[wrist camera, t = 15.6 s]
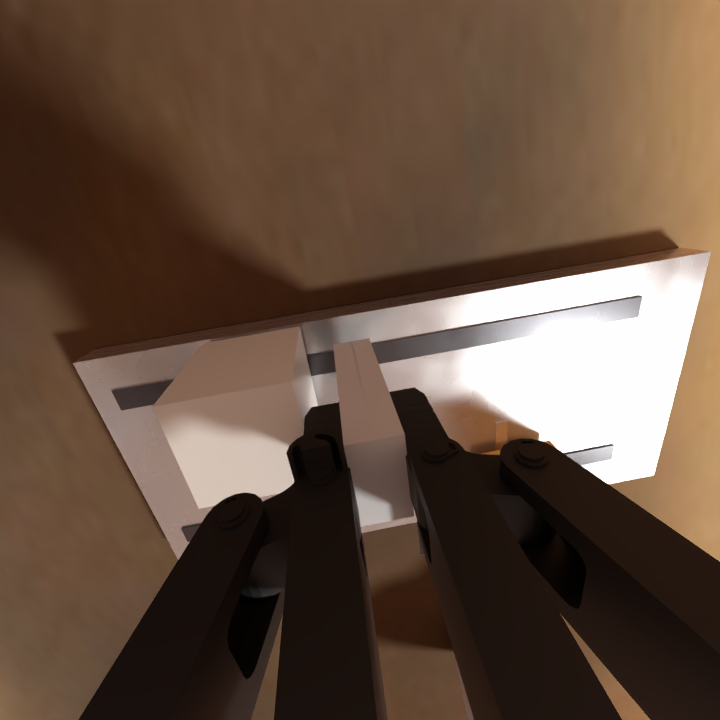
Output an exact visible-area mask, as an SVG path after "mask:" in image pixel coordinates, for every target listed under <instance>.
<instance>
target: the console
mask: <svg viewBox="0 0 720 720" xmlns="http://www.w3.org/2000/svg"><path fill="white" fill-rule="evenodd" d="M710 254H711V252H710V251H702V250H694V249H686V248H675V249H670V250H664V251H658V252H652V253H647V254H641V255H635V256H629V257H624V258H618V259H612V260H606V261H601V262H595V263H589V264H583V265H578V266H572V267H566V268H560V269H554V270H549V271H543V272H537V273H531V274H526V275H520V276H514V277H508V278H503V279H497V280H491V281H485V282H480V283H474V284H468V285H462V286H457V287H451V288H445V289H439V290H434V291H428V292H422V293H416V294H410V295H405V296H399V297H393V298H387V299H382V300H376V301H370V302H364V303H359V304H353V305H347V306H341V307H336V308H330V309H324V310H318V311H313V312H307V313H301V314H295V315H290V316H284V317H278V318H272V319H266V320H261V321H255V322H249V323H243V324H238V325H232V326H226V327H220V328H215V329H209V330H203V331H197V332H192V333H186V334H180V335H174V336H169V337H163V338H157V339H151V340H146V341H140V342H134V343H128V344H122V345H117V346H111V347H105V348H99V349H94V350H92V351H90V352H89V353H87V354H86V355H84V356H83V357H81V358H80V359H78V360H77V361H75V362H74V363H73V365H74V367H75V368H76V370H77V372H78V374H79V376H80V378H81V380H82V381H83V383H84V385H85V387H86V389H87V391H88V393H89V394H90V396H91V398H92V400H93V402H94V404H95V406H96V408H97V409H98V411H99V413H100V415H101V417H102V419H103V421H104V422H105V424H106V426H107V428H108V430H109V432H110V434H111V435H112V437H113V439H114V441H115V443H116V445H117V447H118V449H119V450H120V452H121V454H122V456H123V458H124V460H125V462H126V463H127V465H128V467H129V469H130V471H131V473H132V475H133V476H134V478H135V480H136V482H137V484H138V486H139V488H140V490H141V491H142V493H143V495H144V497H145V499H146V501H147V503H148V504H149V506H150V508H151V510H152V512H153V514H154V516H155V517H156V519H157V521H158V523H159V525H160V527H161V529H162V531H163V532H164V534H165V536H166V538H167V540H168V542H169V544H170V545H171V547H172V549H173V551H174V553H175V555H176V557H177V558H178V560H179V558H180V557H181V555H182V553H183V552H184V550H185V549H186V547H187V545H188V544H189V542H190V541H191V539H192V537H193V536H194V534H195V533H196V531H197V529H198V528H199V526H200V525H201V523H202V521H203V520H204V518H205V517H206V515H207V514H208V513H209V512H210V510H211V509H212V508H213V507H214V506H211V507H206V508H201V509H199V508H198V506H197V504H196V501H195V499H194V497H193V495H192V493H191V490H190V488H189V486H188V484H187V482H186V480H185V477H184V475H183V473H182V471H181V469H180V467H179V464H178V462H177V460H176V458H175V456H174V453H173V451H172V449H171V447H170V445H169V443H168V440H167V438H166V436H165V434H164V432H163V430H162V427H161V425H160V423H159V421H158V419H157V416H156V414H155V412H154V410H153V408H152V406H153V405H154V404H155V403H156V401H157V400H158V399H159V398H160V396H161V395H162V394H163V393H164V391H165V390H166V389H167V388H168V387H169V385H170V384H171V383H172V382H173V380H174V379H175V378H176V377H177V375H178V374H179V373H180V372H181V370H182V369H183V368H184V367H185V365H186V364H187V363H188V362H189V361H190V359H191V358H192V357H193V356H194V354H195V353H196V352H197V351H198V349H199V348H200V347H201V346H202V344H203V343H208V342H214V341H219V340H225V339H231V338H237V337H242V336H248V335H254V334H259V333H265V332H271V331H277V330H282V329H288V328H294V327H299V326H300V330H301V334H302V339H303V343H304V347H305V352H306V356H307V360H308V365H309V369H310V373H311V378H312V382H313V386H314V391H315V395H316V399H317V404H318V406H321V405H326V404H332V403H337V402H339V397H338V387H337V377H336V367H335V358H334V348H333V344H339V343H344V342H350V341H356V340H361V339H367V338H369V339H370V342H371V345H372V347H373V350H374V353H375V355H376V358H377V361H378V363H379V366H380V369H381V372H382V374H383V377H384V380H385V382H386V385H387V388H388V390H389V392H391V391H397V390H402V389H408V388H413V387H415V388H416V389H418V390H419V391H421V392H423V393H424V394H425V396H426V397H427V399H428V401H429V403H430V405H431V406H432V408H433V411H434V412H435V414H436V415H437V417H438V419H439V421H440V423H441V425H442V426H443V428H444V430H445V432H446V434H447V435H448V437H449V438H450V439H452V440H454V441H457V442H458V443H459V444H460V445H461V446H462V447H463V448H464V450H465V451H468V452H471V453H476V454H481V453H486V452H491V451H496V450H501V449H502V447H503V445H504V444H506V443H508V442H509V441H511V440H515V439H520V438H526V439H535V440H539V441H548V440H550V441H551V443H552V444H553V445H554V446H555V447H556V448H557V449H558V450H559V451H561V452H562V453H564V454H565V455H567V456H568V457H570V458H571V459H572V460H574V461H575V462H577V463H578V464H580V465H581V466H582V467H584V468H585V469H587V470H588V471H590V472H591V473H593V474H594V475H595V476H597V477H598V478H600V479H601V480H603V481H604V482H605V483H607V484H612V483H617V482H622V481H627V480H632V479H637V478H642V477H647V476H652V475H654V473H655V469H656V465H657V461H658V457H659V453H660V449H661V445H662V441H663V437H664V434H665V430H666V426H667V422H668V418H669V414H670V410H671V406H672V402H673V398H674V395H675V391H676V387H677V383H678V379H679V375H680V371H681V367H682V363H683V359H684V356H685V352H686V348H687V344H688V340H689V336H690V332H691V328H692V324H693V320H694V317H695V313H696V309H697V305H698V301H699V297H700V293H701V289H702V285H703V281H704V278H705V274H706V270H707V266H708V262H709V258H710ZM275 495H278V494H274V495H269V496H263V497H260V498H261V500H262V501H264V500H266V499H269V498H271V497H273V496H275ZM413 510H414V508H413ZM414 522H417V518H416V515H415V511H414V516H413V517H408V518H403V519H398V520H393V521H388V522H383V523H378V524H373V525H367V526H362V527H361V533H364V532H369V531H374V530H379V529H384V528H389V527H394V526H399V525H404V524H409V523H414Z"/></svg>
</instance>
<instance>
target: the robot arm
mask: <svg viewBox="0 0 720 720" xmlns="http://www.w3.org/2000/svg"><path fill="white" fill-rule="evenodd" d="M333 348H334V358H335V367H336V377H337V387H338V397H339V402H337V403H332V404H326V405H321V406H315V407H311V408H310V410H309V411H308V413H307V414H306V416H305V418H304V434H303V436H301V437H299V438H297V439H296V440H295V441H294V442H293V443H292V444H291V445H290V446H289V448H288V450H287V453H286V454H287V458H288V461H289V464H290V468H291V471H292V475H293V478H294V483H293V484H292V485H291V486H290V487H289V488H287V489H286V490H285V491H283V492H281V493H279V494H278V495H275V496H273V497H271V498H269V499H266V500H264V501H262V500H261V498H260V497H258V496H257V495H256V494H252V493H246V492H245V493H239V494H234V495H232V496H230V497H227V498H225V499H223V500H222V501H220V502H219V503H218V504H216V505H215V506H214V507H213V508H212V509H211V510H210V512H209V513H208V514H207V515H206V517H205V518H204V520H203V521H202V523H201V525H200V526H199V528H198V529H197V531H196V533H195V534H194V536H193V537H192V539H191V541H190V542H189V544H188V545H187V547H186V549H185V550H184V552H183V553H182V555H181V557H180V558H179V560H178V561H177V563H176V565H175V566H174V568H173V569H172V571H171V573H170V574H169V576H168V577H167V579H166V581H165V582H164V584H163V585H162V587H161V589H160V590H159V592H158V593H157V595H156V597H155V598H154V600H153V601H152V603H151V605H150V606H149V608H148V609H147V611H146V613H145V614H144V616H143V617H142V619H141V621H140V622H139V624H138V625H137V627H136V629H135V630H134V632H133V634H132V635H131V637H130V638H129V640H128V642H127V643H126V645H125V646H124V648H123V650H122V651H121V653H120V654H119V656H118V658H117V659H116V661H115V662H114V664H113V666H112V667H111V669H110V670H109V672H108V674H107V675H106V677H105V678H104V680H103V682H102V683H101V685H100V686H99V688H98V690H97V691H96V693H95V694H94V696H93V698H92V699H91V701H90V702H89V704H88V706H87V707H86V709H85V710H84V712H83V714H82V715H81V717H80V718H79V720H251V717H252V713H253V710H254V707H255V703H256V700H257V697H258V693H259V690H260V687H261V684H262V680H263V677H264V674H265V670H266V667H267V664H268V660H269V657H270V654H271V651H272V647H273V644H274V641H275V637H276V634H277V631H278V627H279V624H280V621H281V617H282V614H283V620H282V632H281V643H280V655H279V667H278V679H277V691H276V703H275V715H274V720H388V719H387V712H386V704H385V697H384V690H383V682H382V675H381V667H380V660H379V652H378V645H377V638H376V630H375V623H374V615H373V608H372V600H371V593H370V586H369V578H368V571H367V563H366V556H365V548H364V542H363V538H362V533H361V527H362V526H367V525H373V524H378V523H383V522H388V521H393V520H398V519H403V518H408V517H413V516H414V511H415V515H416V518H417V524H418V533H419V542H420V551H421V554H425V557H426V561H427V564H428V567H429V571H430V574H431V577H432V581H433V584H434V587H435V591H436V594H437V597H438V601H439V604H440V607H441V611H442V614H443V617H444V621H445V624H446V627H447V631H448V634H449V638H450V641H451V644H452V648H453V651H454V654H455V658H456V661H457V664H458V668H459V671H460V674H461V678H462V681H463V684H464V688H465V691H466V694H467V698H468V701H469V704H470V708H471V711H472V715H473V718H474V720H622V719H621V717H620V716H619V714H618V712H617V711H616V709H615V707H614V705H613V704H612V702H611V700H610V699H609V697H608V695H607V693H606V692H605V690H604V688H603V687H602V685H601V683H600V681H599V680H598V678H597V676H596V675H595V673H594V671H593V669H592V668H591V666H590V664H589V663H588V661H587V659H586V657H585V656H584V654H583V652H582V651H581V649H580V647H579V645H578V644H577V642H576V640H575V639H574V637H573V635H572V633H571V632H570V630H569V628H568V627H567V625H566V623H565V621H564V620H563V618H562V616H563V617H564V618H565V619H566V621H567V622H568V623H569V624H570V625H571V626H572V628H573V629H574V630H575V631H576V632H577V634H578V635H579V636H580V637H581V638H582V639H583V641H584V642H585V643H586V644H587V645H588V646H589V648H590V649H591V650H592V651H593V652H594V654H595V655H596V656H597V657H598V658H599V659H600V661H601V662H602V663H603V664H604V665H605V666H606V668H607V669H608V670H609V671H610V672H611V674H612V675H613V676H614V677H615V678H616V679H617V681H618V682H619V683H620V684H621V685H622V686H623V688H624V689H625V690H626V691H627V692H628V694H629V695H630V696H631V697H632V698H633V699H634V701H635V702H636V703H637V704H638V705H639V706H640V708H641V709H642V710H643V711H644V712H645V714H646V715H647V716H648V717H649V718H650V719H651V720H720V562H719V561H718V560H716V559H715V558H713V557H712V556H710V555H709V554H708V553H706V552H705V551H703V550H702V549H700V548H699V547H698V546H696V545H695V544H693V543H692V542H690V541H689V540H687V539H686V538H685V537H683V536H682V535H680V534H679V533H677V532H676V531H675V530H673V529H672V528H670V527H669V526H667V525H666V524H664V523H663V522H662V521H660V520H659V519H657V518H656V517H654V516H653V515H652V514H650V513H649V512H647V511H646V510H644V509H643V508H641V507H640V506H639V505H637V504H636V503H634V502H633V501H631V500H630V499H628V498H627V497H626V496H624V495H623V494H621V493H620V492H618V491H617V490H616V489H614V488H613V487H611V486H610V485H608V484H607V483H605V482H604V481H603V480H601V479H600V478H598V477H597V476H595V475H594V474H593V473H591V472H590V471H588V470H587V469H585V468H584V467H582V466H581V465H580V464H578V463H577V462H575V461H574V460H572V459H571V458H570V457H568V456H567V455H565V454H564V453H562V452H561V451H559V450H558V449H557V448H555V447H553V446H552V445H550V444H548V443H546V442H543V441H539V440H535V439H526V438H520V439H515V440H511V441H509V442H508V443H506V444H504V445H503V447H502V449H501V451H500V455H490V454H476V453H471V452H468V451H465V450H464V448H463V447H462V446H461V445H460V444H459V443H458V442H457V441H454V440H452V439H450V438H449V437H448V435H447V434H446V432H445V430H444V428H443V426H442V425H441V423H440V421H439V419H438V417H437V415H436V414H435V412H434V411H433V408H432V406H431V405H430V403H429V401H428V399H427V397H426V396H425V394H424V393H423V392H421V391H419V390H418V389H416V388H415V387H413V388H408V389H402V390H397V391H391V392H389V390H388V388H387V385H386V382H385V380H384V377H383V374H382V372H381V369H380V366H379V363H378V361H377V358H376V355H375V353H374V350H373V347H372V345H371V342H370V339H369V338H367V339H361V340H356V341H350V342H344V343H339V344H333ZM413 508H414V510H413ZM559 612H560V613H559ZM560 614H561V615H562V616H561V615H560Z"/></svg>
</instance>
